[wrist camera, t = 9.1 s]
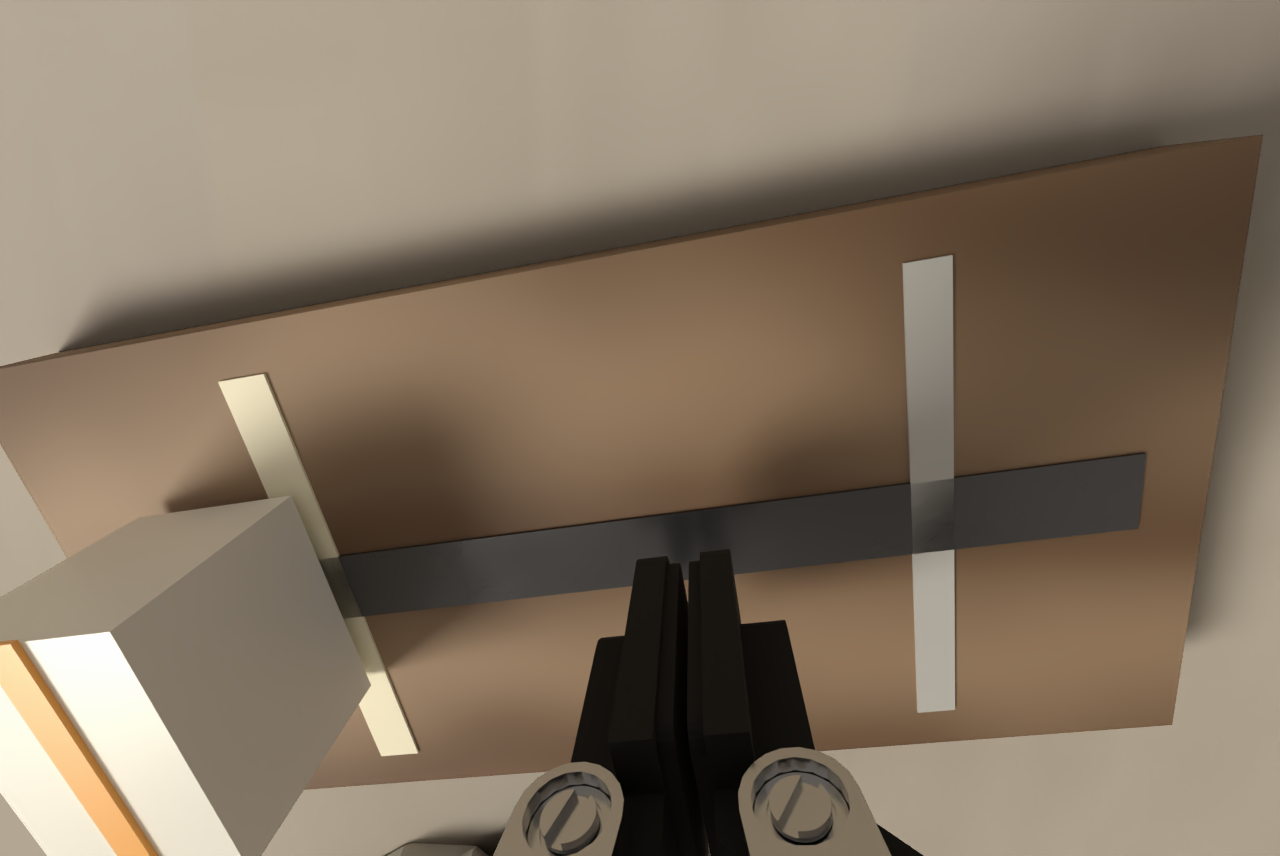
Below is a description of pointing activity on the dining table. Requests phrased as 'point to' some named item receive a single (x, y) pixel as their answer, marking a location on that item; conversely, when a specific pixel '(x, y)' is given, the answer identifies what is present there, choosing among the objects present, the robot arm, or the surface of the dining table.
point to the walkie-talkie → (437, 850)
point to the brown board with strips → (722, 457)
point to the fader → (173, 685)
